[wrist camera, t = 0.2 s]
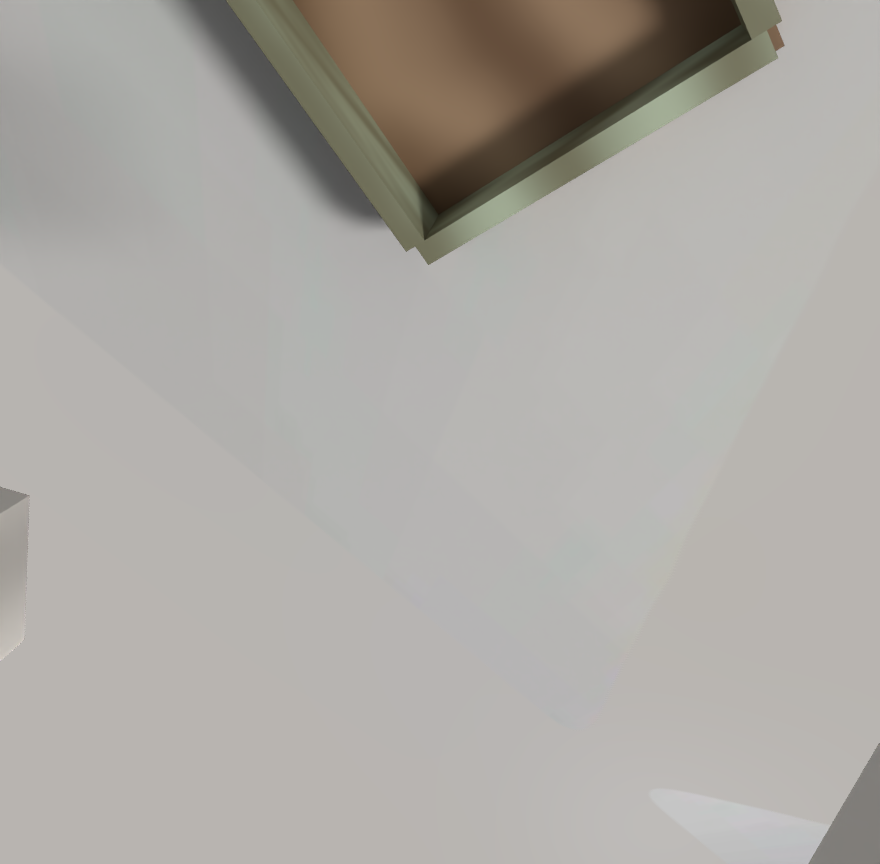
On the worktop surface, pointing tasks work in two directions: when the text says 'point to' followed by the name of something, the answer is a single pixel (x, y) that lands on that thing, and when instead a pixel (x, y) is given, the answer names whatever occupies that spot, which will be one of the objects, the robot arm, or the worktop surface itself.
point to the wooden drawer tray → (497, 91)
